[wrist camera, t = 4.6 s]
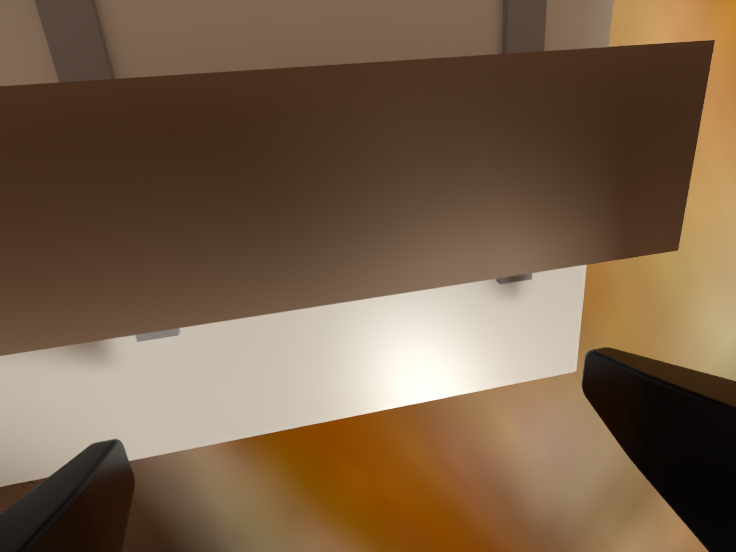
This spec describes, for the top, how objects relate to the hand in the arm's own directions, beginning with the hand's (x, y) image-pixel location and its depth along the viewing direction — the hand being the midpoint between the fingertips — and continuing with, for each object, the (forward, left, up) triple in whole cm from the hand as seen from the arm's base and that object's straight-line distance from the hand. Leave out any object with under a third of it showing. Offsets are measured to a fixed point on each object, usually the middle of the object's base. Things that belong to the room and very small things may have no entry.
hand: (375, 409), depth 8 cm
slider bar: (+4, 0, -2) cm, 5 cm away
